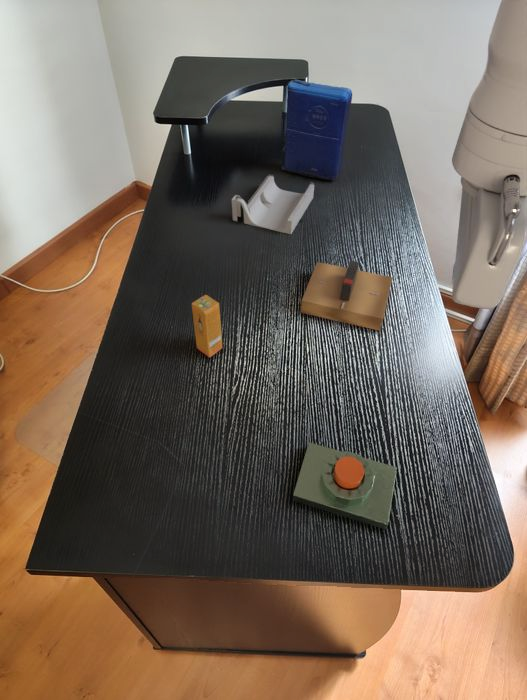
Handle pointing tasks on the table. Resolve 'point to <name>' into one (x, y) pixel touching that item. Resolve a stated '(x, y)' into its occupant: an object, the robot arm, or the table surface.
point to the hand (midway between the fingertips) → (460, 279)
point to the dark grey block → (349, 280)
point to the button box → (327, 495)
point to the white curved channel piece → (273, 207)
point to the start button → (348, 472)
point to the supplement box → (207, 325)
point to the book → (316, 129)
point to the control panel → (363, 301)
